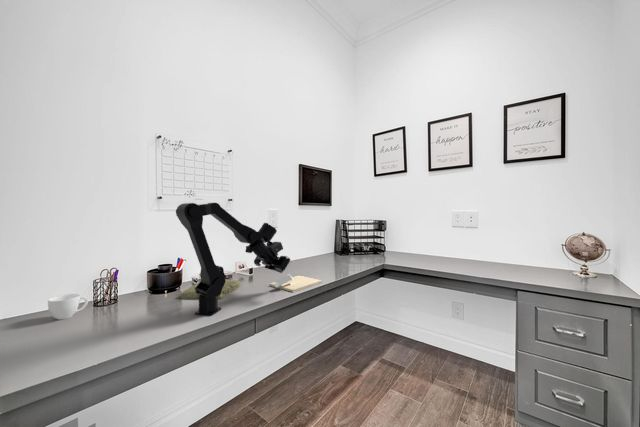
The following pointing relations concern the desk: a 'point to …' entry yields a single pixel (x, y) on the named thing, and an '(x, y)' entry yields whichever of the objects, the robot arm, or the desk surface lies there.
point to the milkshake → (284, 281)
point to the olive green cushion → (227, 288)
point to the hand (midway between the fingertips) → (281, 272)
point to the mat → (299, 283)
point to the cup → (65, 305)
